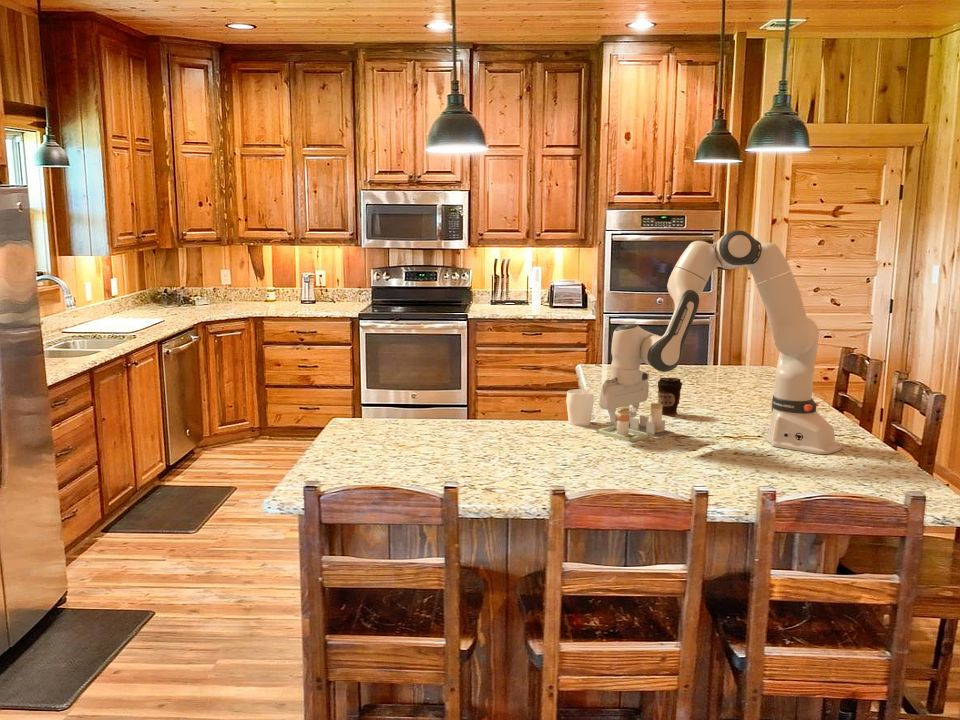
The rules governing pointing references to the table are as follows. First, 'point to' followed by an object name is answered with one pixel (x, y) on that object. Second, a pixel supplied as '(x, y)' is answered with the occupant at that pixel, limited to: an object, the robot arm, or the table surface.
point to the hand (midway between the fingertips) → (623, 419)
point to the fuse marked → (623, 421)
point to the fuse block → (644, 426)
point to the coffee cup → (669, 395)
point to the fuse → (656, 416)
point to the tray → (631, 439)
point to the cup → (579, 406)
